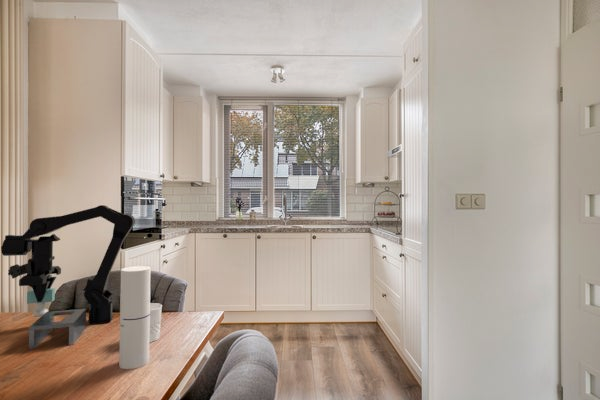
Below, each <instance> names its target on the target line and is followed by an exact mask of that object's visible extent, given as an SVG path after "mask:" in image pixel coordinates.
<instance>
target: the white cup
mask: <svg viewBox="0 0 600 400" xmlns="http://www.w3.org/2000/svg"><path fill="white" fill-rule="evenodd" d="M162 312H163V304H161V303H159V302H158V303H155V302H150V339H149V343H151V342H152V343H153V342H155V341H157V340H159V338H160V337H161V326H162V325H161V324H162Z"/></svg>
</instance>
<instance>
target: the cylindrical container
mask: <svg viewBox="0 0 600 400" xmlns="http://www.w3.org/2000/svg"><path fill="white" fill-rule="evenodd" d="M151 268H152V267H150V266H147V265H146V266H145V265H137V266H135V265H134V266H127V267H123V268H121V269H120V296H119V297H120V302H119V303H120V305H119V306H120V307H119V361H118V363H119V364H118V365H119V368H120V369H122V370H134V369H139V368H143V367H145V366H146V365H147V364H149V362H150V342H149V339H150V303H151V270H152V269H151Z"/></svg>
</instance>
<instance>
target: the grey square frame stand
mask: <svg viewBox="0 0 600 400" xmlns="http://www.w3.org/2000/svg"><path fill="white" fill-rule="evenodd" d="M68 315H70V316H68ZM56 316H64V318H63V319H61V321H55V318H54V317H56ZM56 328H57V329H58V328H68V346H72V345H74V344H75V343H76V342H77V341H78V339H79V338H80V336H81V335H82V334H83V333H84V331H85V330H86V328H87V308H79V309H68V310H56V311H55V310H54V311H48V312H46V313H45V314H44V315H43V316H42V317H38V319H37V320H35V321H34V322H33V323H32V324H31V325H30V326H28V350H34V349H35V348H36V347H37V346H39V345H40V344H41V342H42V341H43V340H44V339H45V338H47V336H48V335H49V334H50V333H51V332H52V329H56Z"/></svg>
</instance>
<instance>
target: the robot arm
mask: <svg viewBox="0 0 600 400" xmlns="http://www.w3.org/2000/svg"><path fill="white" fill-rule="evenodd" d="M95 218H103V219H104V220H106V221H108V222H109V223H111V224H114V225H113V228H112V229H113V230H112V238H111V239H110V242H109V244H108V246H107V249H106V252H105V254H104V256H103V258H102V260H101V263H100V265H99V267H98V270H97V272H96V275H91V276H90V277H89V278H87V281H86V286H84V287H85V288H84V289H82V290H83V297H84V298H85V300H86V301H87V302H89V304H90V305H89V306H90V308H89V309H88V325H96V324H107V323H111V322H112V320H113V318H114V315H113V301H111V300H112V299H113V296H114V294H113V292H111V291H110V290H109V289H108V285H109V278H110V274H111V271H112V269H113V266H114V265H115V262H116V259H117V257H118V256H119V253H120V250H121V248H122V246H123V243H124V240H125V239H126V238H127V236H128V235H129V233H130V232H131V230H132V229H133V227H134V226H135V224H136V220H135V218H134V216H133V215H132V214H130V213H129V214H128V213H121V212H120V211H117V210H115V209H112V208H110V207H108V205H104V204H103V205H97V206H96V207H91V208H88V209H84V210H79V211H75V212H71V213H68V214H64V215H59V216H48V217H47V216H46V217H40V218H35V219H33V220H32V221H31V222H30V224H29V228H28V229H27V230H26V231H25V232H24V233H23V234H21V235H15V234H8V235H7V234H6V235H5V237H4V240H3V242H2V244H1V247H0V251H1V254H2V255H3V256H4V257H11V256H13V257H14V256H26V255H28V253H31V255H30V256H31V258H29V259H28V260H27V263H25V264H22V265H19V264H17V263H16V264H14V265H11V266H9V269H8V270H7V271H8V273H7V275H8V276H10V277H11V278H12V279H16V278H18V277H20V276H22V277H21V278H19V279H18V286H19V287H26V286H27V287H28V286H29V287H30V288H32V289H31V290H33V291H34V294H35V296H36V299H37V302H41V301H42V300H43V297H44V295H45V292H46V290H47V289H52V286H53V285H54V282H55V281H56V280H57V276H58V275H60V274H62V267H60V265H53V261H54V260H55V258H56V257H55V255H53V251H54V249H53V247H54V242H59V241H61V238H60V237H59V236H57V235H56V234H55V233H54V232H55V231H58V230H60V229H62V228H65V227H67V226H70V225H74V224H78V223H81V222H85V221H88V220H93V219H95ZM51 233H52V234H51ZM47 234H50V236H46V235H47ZM44 235H45V236H44ZM34 238H36V239H34ZM37 238H38V239H37ZM53 275H56V276H53Z"/></svg>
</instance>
